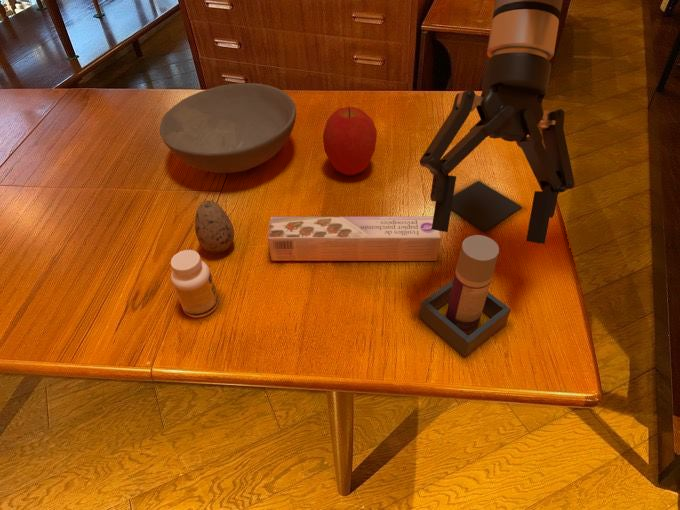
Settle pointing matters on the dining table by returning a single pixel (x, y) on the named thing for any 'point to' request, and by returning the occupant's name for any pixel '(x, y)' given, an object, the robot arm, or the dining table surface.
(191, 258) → the supplement bottle
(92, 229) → the dining table surface
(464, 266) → the container
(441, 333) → the open box
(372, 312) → the dining table surface
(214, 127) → the bowl
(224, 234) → the decorative egg
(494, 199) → the coaster
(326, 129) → the apple
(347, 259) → the box
